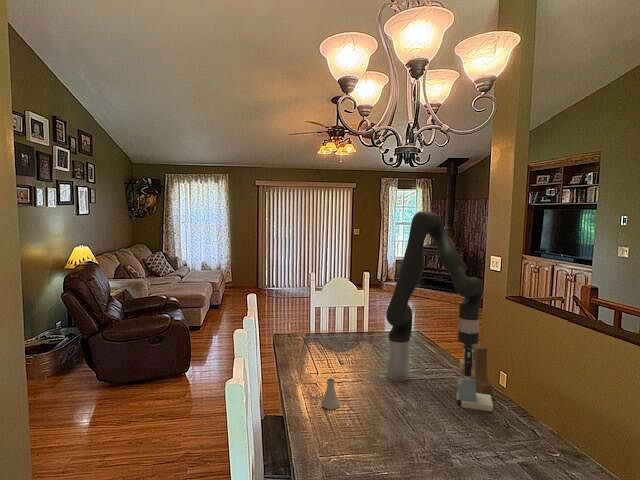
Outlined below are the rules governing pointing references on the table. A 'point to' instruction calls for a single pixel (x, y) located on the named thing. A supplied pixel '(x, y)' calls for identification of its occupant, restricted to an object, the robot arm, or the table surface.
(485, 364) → the wooden block
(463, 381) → the cube
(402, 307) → the robot arm
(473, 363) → the oak block
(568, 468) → the table surface
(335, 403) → the flask
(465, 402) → the foundation board
